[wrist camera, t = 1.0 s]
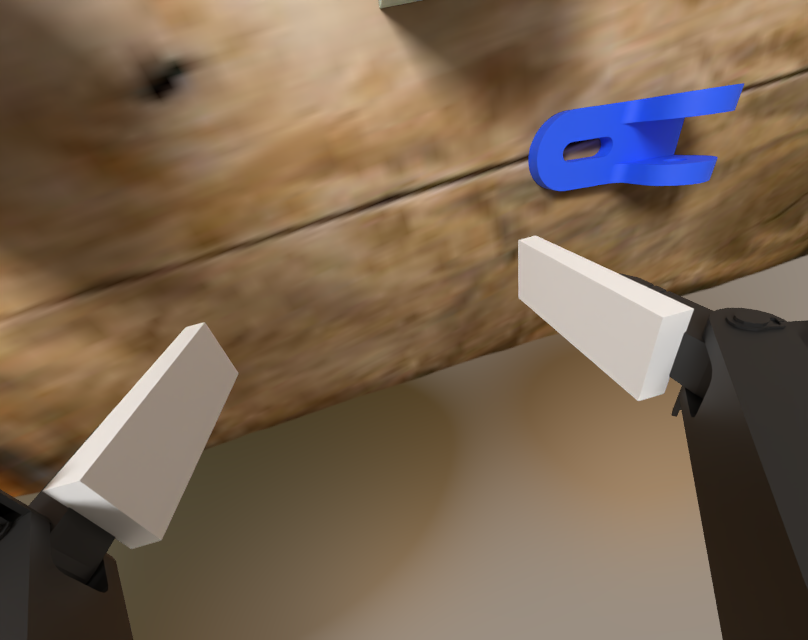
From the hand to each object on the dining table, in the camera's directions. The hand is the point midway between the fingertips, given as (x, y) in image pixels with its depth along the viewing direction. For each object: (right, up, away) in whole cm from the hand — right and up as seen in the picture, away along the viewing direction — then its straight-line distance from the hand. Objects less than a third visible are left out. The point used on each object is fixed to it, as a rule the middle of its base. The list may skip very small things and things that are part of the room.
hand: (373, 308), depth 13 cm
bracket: (+25, +21, +24) cm, 41 cm away
